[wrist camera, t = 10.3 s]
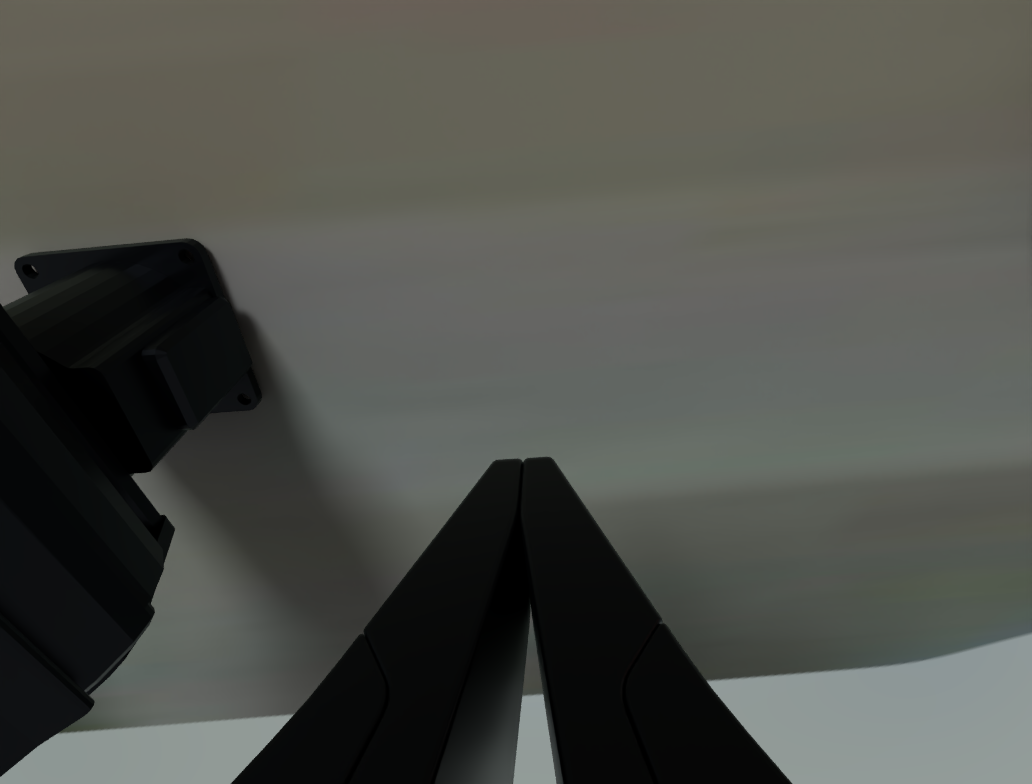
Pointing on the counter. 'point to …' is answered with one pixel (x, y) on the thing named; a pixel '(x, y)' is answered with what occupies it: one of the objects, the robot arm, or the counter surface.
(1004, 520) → the counter surface
